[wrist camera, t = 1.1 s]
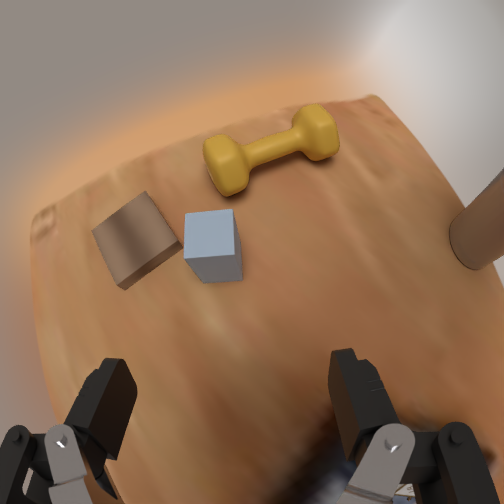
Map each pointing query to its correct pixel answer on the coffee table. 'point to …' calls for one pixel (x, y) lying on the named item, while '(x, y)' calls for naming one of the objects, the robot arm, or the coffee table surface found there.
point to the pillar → (213, 246)
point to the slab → (135, 241)
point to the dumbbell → (270, 148)
